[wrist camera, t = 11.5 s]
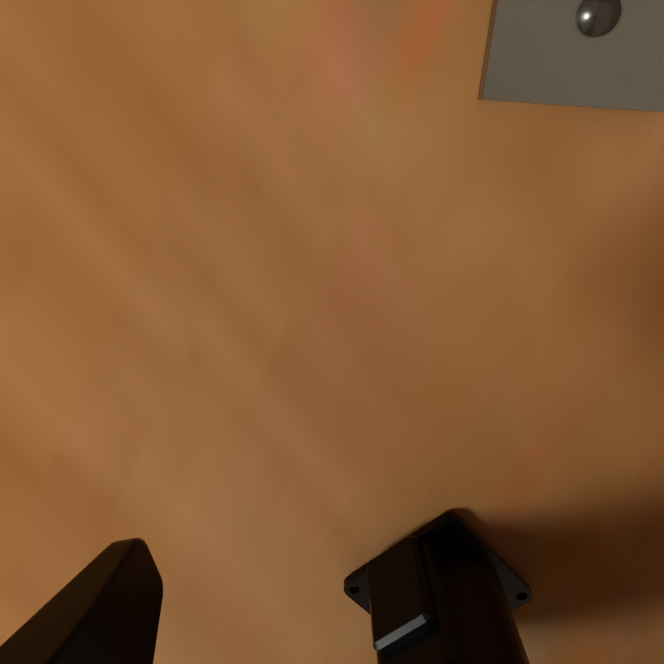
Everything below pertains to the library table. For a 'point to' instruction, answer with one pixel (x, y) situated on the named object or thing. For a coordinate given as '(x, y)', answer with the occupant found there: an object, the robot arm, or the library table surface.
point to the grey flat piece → (576, 53)
